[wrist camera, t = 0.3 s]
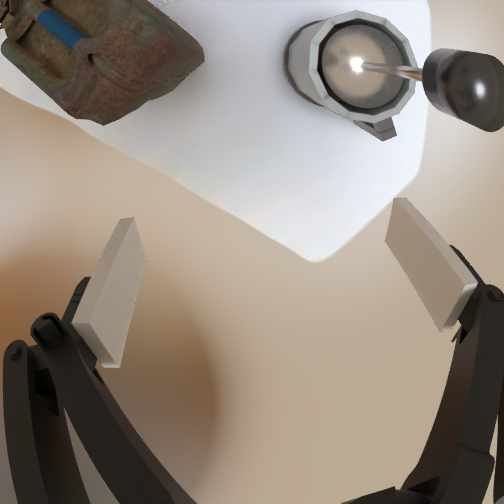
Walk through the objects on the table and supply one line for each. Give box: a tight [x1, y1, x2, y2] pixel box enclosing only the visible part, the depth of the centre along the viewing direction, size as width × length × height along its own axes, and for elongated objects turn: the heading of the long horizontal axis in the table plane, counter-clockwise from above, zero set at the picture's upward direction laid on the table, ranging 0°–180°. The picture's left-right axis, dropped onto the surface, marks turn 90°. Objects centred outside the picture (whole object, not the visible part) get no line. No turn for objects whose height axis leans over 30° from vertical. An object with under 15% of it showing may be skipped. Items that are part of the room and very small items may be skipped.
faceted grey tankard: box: [283, 10, 418, 141], centre depth 29 cm, size 15×13×13 cm
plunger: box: [321, 25, 504, 132], centre depth 17 cm, size 9×9×18 cm
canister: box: [0, 0, 204, 126], centre depth 20 cm, size 19×8×25 cm, turn 42°
